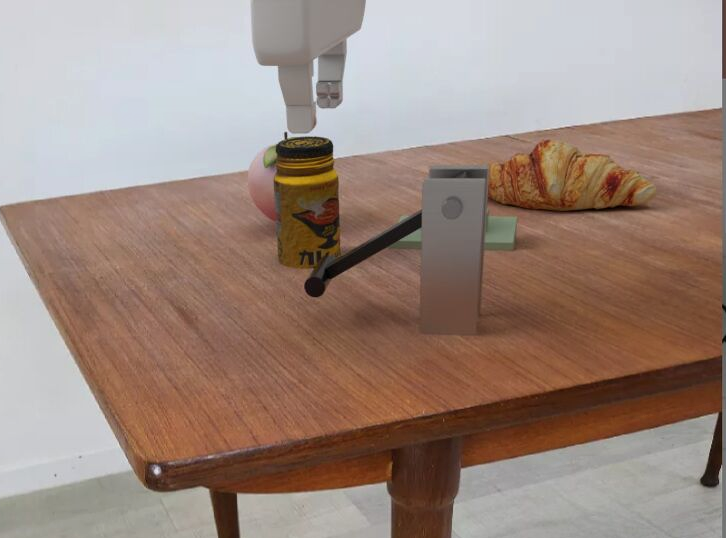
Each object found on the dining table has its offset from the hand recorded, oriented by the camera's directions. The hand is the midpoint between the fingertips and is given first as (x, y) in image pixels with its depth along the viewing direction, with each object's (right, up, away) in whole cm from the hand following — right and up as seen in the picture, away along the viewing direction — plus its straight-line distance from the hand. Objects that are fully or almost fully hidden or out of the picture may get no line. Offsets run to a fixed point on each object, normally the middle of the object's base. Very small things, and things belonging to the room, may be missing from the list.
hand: (316, 118), depth 69 cm
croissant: (+28, +8, +39) cm, 49 cm away
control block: (+14, -1, +27) cm, 30 cm away
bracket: (+11, -15, +7) cm, 20 cm away
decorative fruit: (-3, +5, +36) cm, 37 cm away
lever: (+6, -8, +4) cm, 11 cm away
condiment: (-1, -4, +23) cm, 24 cm away
